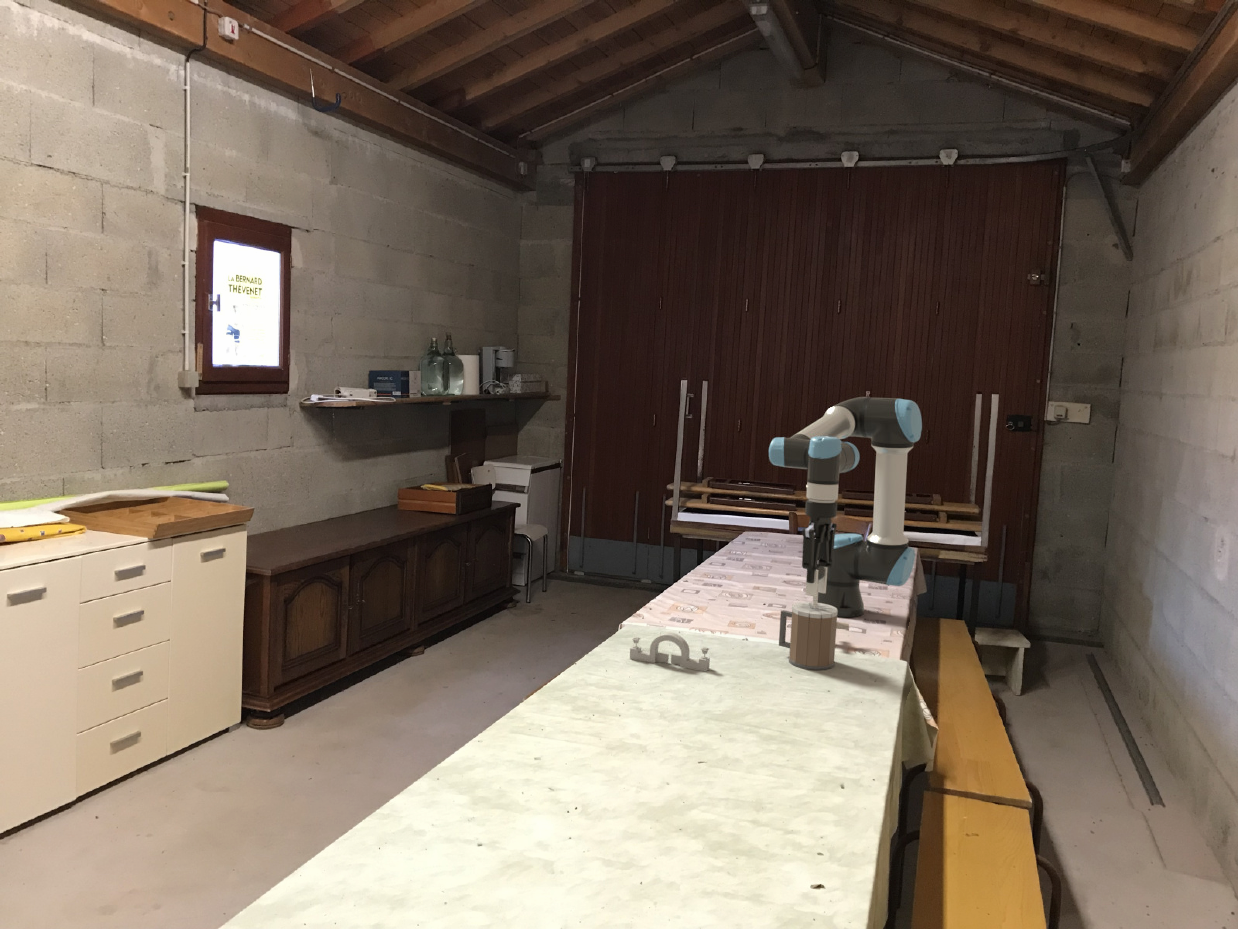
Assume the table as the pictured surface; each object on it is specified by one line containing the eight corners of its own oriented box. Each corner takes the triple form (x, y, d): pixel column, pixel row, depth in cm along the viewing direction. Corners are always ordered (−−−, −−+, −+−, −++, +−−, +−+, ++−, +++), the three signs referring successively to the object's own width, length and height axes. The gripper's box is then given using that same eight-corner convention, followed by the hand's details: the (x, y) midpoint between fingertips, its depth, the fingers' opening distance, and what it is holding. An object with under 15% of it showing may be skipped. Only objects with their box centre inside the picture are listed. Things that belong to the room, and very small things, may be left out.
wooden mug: (790, 649, 247) (793, 597, 245) (841, 663, 238) (845, 608, 236) (768, 659, 239) (771, 604, 237) (820, 673, 230) (824, 617, 228)
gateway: (709, 670, 230) (710, 638, 229) (706, 673, 228) (708, 641, 227) (632, 658, 237) (634, 627, 236) (629, 661, 235) (630, 629, 234)
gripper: (824, 494, 241) (818, 585, 244) (790, 501, 228) (784, 597, 231) (851, 498, 236) (845, 590, 239) (818, 505, 223) (812, 603, 226)
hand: (815, 593), depth 235 cm, fingers closed on plunger, 4 cm apart
